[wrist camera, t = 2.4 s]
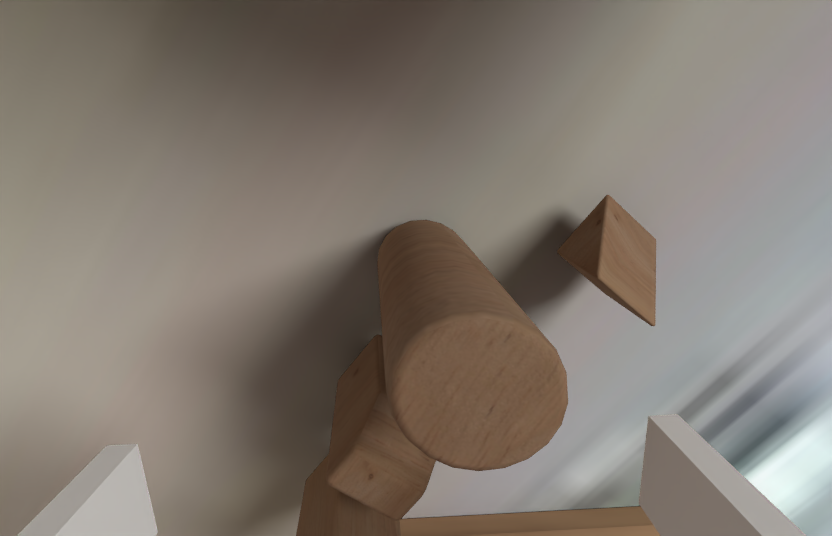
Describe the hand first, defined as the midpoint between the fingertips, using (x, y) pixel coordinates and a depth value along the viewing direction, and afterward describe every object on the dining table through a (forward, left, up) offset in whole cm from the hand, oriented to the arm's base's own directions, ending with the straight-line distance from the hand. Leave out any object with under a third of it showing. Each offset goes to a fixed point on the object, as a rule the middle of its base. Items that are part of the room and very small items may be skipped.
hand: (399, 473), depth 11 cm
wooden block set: (0, +1, -9) cm, 9 cm away
